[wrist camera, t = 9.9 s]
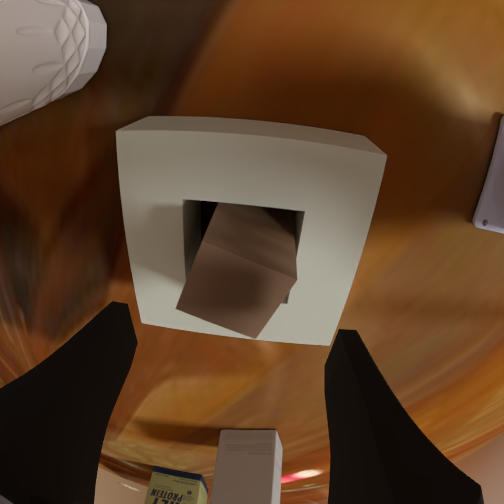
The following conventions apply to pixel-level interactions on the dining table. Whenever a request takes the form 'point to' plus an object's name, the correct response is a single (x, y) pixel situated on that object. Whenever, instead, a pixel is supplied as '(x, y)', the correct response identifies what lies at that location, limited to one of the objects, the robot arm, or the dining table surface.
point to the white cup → (46, 51)
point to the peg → (242, 268)
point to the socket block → (248, 193)
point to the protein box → (176, 487)
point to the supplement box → (247, 468)
